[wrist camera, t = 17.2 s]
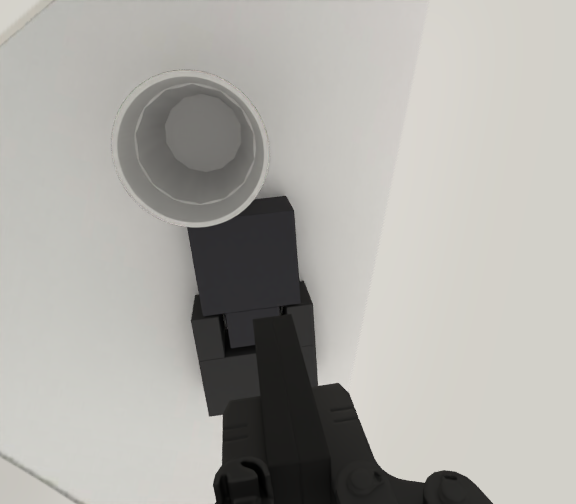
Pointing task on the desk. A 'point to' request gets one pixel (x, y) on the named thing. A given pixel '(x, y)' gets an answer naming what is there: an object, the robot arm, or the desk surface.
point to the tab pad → (247, 266)
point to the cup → (190, 148)
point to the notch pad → (243, 354)
